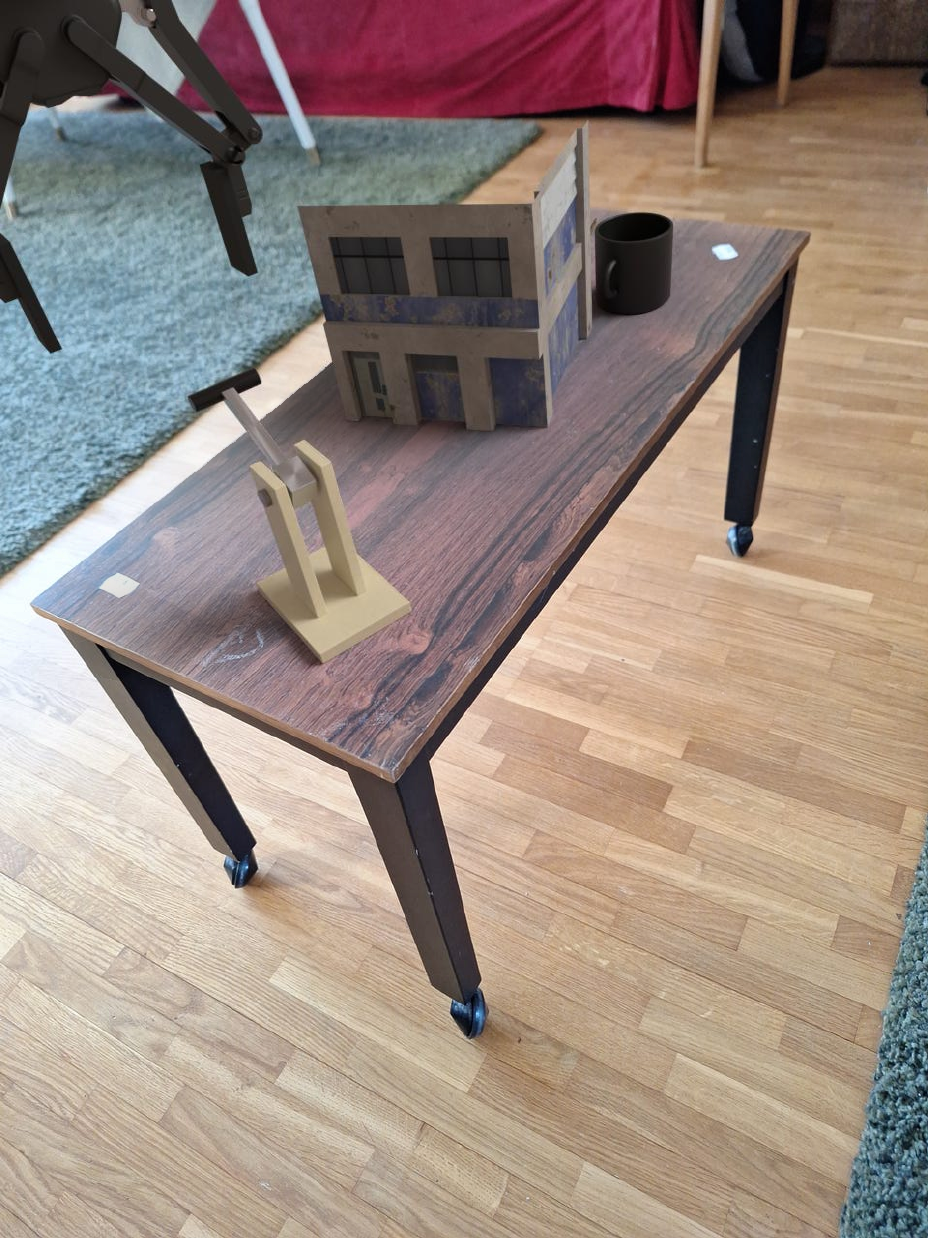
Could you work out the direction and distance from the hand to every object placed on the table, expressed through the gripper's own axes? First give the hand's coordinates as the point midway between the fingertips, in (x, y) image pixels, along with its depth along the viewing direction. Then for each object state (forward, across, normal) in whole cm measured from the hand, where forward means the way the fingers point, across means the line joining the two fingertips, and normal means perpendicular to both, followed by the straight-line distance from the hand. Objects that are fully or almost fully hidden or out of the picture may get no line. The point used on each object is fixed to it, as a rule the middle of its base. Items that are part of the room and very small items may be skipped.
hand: (151, 306), depth 56 cm
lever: (+15, +5, +3) cm, 16 cm away
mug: (+29, +62, +20) cm, 71 cm away
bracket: (+29, +5, -2) cm, 29 cm away
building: (+29, +38, +21) cm, 52 cm away
